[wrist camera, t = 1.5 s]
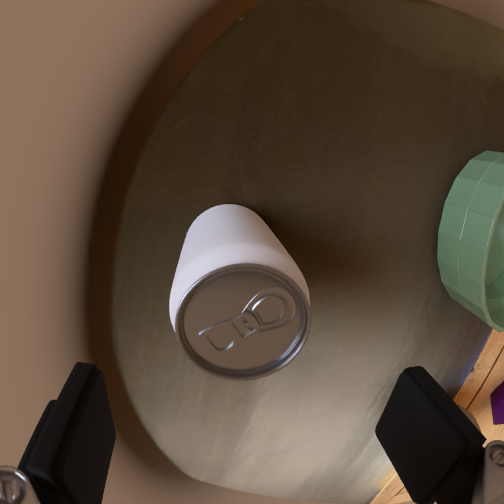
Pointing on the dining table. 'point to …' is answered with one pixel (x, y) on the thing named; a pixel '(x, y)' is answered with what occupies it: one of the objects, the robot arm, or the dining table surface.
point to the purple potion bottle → (498, 405)
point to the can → (238, 297)
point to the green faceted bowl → (475, 239)
